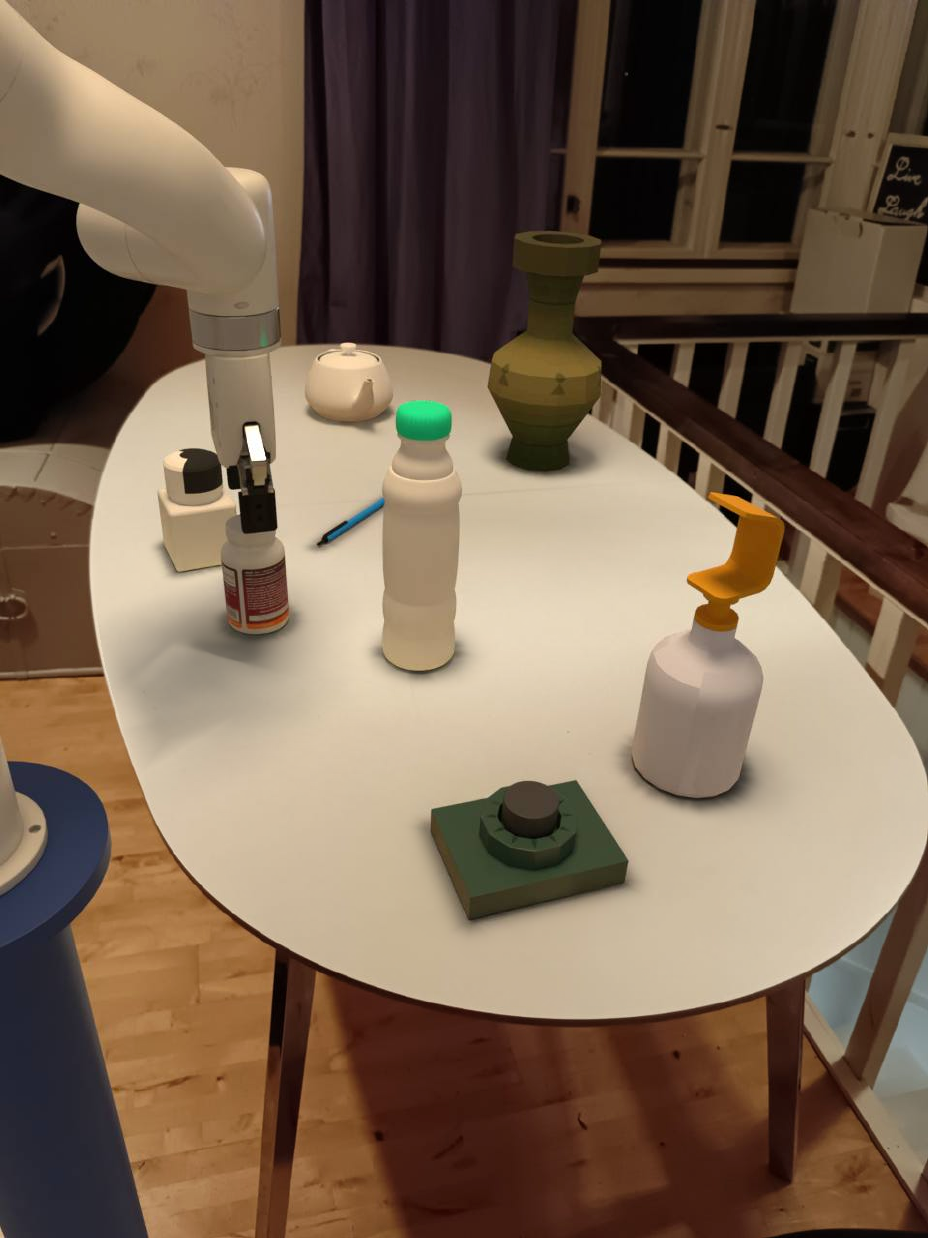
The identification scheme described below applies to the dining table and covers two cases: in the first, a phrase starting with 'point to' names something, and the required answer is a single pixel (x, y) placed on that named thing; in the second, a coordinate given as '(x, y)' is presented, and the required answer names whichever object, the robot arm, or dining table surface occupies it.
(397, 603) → the water bottle
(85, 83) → the robot arm
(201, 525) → the medicine bottle
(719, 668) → the soap bottle
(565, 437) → the vase
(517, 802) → the brown push button
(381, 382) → the teapot
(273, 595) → the pill bottle
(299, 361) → the dining table surface
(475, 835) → the green button base
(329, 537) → the pen
